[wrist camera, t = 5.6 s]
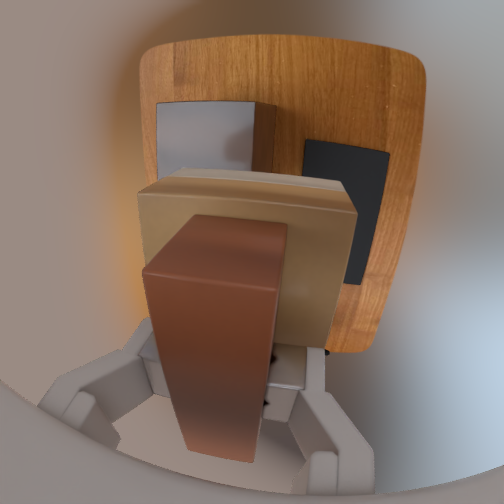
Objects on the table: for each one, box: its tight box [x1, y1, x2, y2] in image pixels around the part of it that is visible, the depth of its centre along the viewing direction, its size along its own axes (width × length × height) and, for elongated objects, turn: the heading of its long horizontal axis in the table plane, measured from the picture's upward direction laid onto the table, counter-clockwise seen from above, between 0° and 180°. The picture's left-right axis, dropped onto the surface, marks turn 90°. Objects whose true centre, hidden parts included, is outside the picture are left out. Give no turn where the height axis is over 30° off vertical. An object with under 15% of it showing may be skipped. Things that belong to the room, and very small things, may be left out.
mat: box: [302, 139, 390, 285], centre depth 38 cm, size 20×11×1 cm, turn 177°
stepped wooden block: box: [137, 168, 358, 463], centre depth 10 cm, size 9×6×6 cm, turn 177°
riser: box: [156, 101, 276, 181], centre depth 29 cm, size 10×8×16 cm
